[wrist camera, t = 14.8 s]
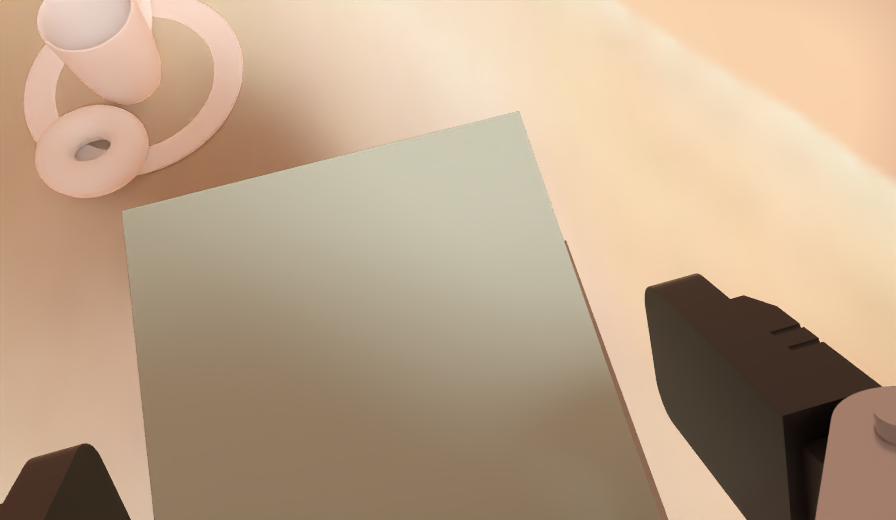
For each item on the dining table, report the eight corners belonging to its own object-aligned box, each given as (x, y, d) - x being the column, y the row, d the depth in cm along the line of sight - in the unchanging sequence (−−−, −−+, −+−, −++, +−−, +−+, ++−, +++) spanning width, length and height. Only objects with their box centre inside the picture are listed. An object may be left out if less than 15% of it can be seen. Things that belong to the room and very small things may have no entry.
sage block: (353, 623, 18) (168, 655, 8) (312, 408, 20) (122, 210, 10) (568, 563, 18) (661, 519, 8) (507, 356, 20) (518, 110, 10)
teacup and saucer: (115, 243, 27) (54, 186, 23) (-31, 122, 29) (-109, 52, 25) (291, 68, 29) (261, -10, 26) (144, -32, 32) (96, -116, 28)
